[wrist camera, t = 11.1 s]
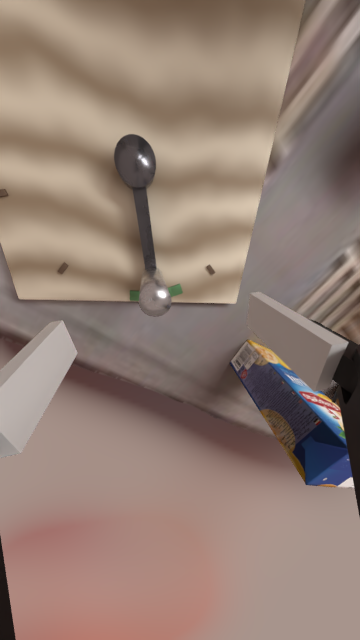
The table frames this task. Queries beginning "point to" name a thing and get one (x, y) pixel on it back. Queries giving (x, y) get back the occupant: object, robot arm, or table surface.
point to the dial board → (146, 121)
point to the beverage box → (296, 417)
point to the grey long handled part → (143, 217)
